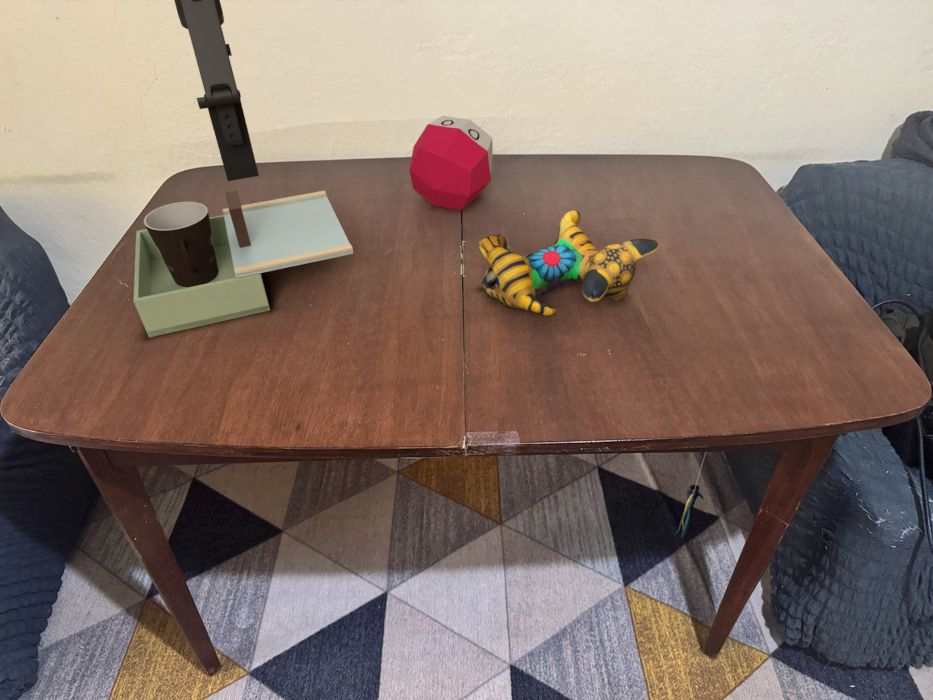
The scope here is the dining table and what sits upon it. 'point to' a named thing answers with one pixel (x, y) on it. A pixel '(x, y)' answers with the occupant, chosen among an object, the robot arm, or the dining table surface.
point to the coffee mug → (184, 242)
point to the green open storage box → (192, 289)
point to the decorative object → (451, 162)
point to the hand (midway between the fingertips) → (235, 150)
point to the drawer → (282, 232)
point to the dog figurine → (561, 267)
